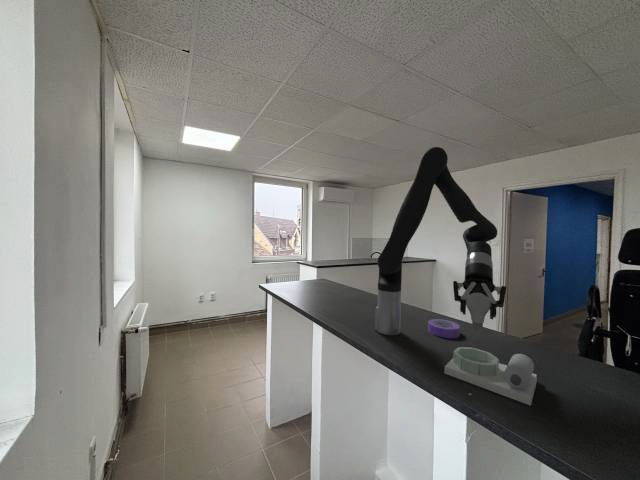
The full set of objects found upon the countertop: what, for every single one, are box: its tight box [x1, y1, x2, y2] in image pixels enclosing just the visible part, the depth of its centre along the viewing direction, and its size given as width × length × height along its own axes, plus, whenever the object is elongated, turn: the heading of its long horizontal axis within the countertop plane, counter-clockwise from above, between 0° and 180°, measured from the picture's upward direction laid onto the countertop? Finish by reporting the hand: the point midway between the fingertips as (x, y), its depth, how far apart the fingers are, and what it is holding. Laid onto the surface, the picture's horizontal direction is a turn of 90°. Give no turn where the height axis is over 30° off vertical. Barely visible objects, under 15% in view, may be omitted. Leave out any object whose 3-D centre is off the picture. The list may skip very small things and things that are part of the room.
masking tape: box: [427, 318, 461, 339], centre depth 103 cm, size 12×12×4 cm
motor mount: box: [443, 346, 538, 407], centre depth 70 cm, size 19×14×7 cm
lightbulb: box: [466, 293, 491, 332], centre depth 73 cm, size 6×6×11 cm
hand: (477, 315), depth 71 cm, fingers closed on lightbulb, 6 cm apart
